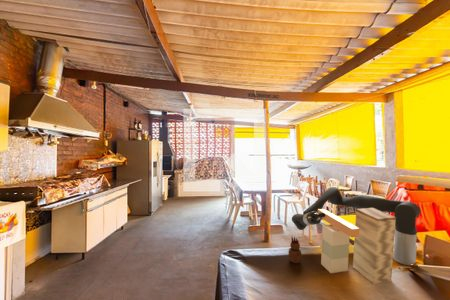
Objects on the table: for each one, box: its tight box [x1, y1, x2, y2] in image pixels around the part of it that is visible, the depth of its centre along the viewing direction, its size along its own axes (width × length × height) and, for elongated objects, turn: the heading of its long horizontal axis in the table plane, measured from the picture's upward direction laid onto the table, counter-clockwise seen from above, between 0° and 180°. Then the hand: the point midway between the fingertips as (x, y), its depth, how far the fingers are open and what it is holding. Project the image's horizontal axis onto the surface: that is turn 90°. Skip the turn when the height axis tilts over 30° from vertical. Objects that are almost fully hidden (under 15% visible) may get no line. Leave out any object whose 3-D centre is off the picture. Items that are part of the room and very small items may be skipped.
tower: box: [320, 224, 351, 274], centre depth 117 cm, size 10×8×22 cm
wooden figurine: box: [288, 236, 302, 264], centre depth 123 cm, size 7×6×15 cm
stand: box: [352, 208, 396, 284], centre depth 112 cm, size 10×13×32 cm
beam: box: [318, 208, 360, 238], centre depth 116 cm, size 4×26×4 cm, turn 12°
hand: (328, 214), depth 122 cm, fingers closed on beam, 4 cm apart
